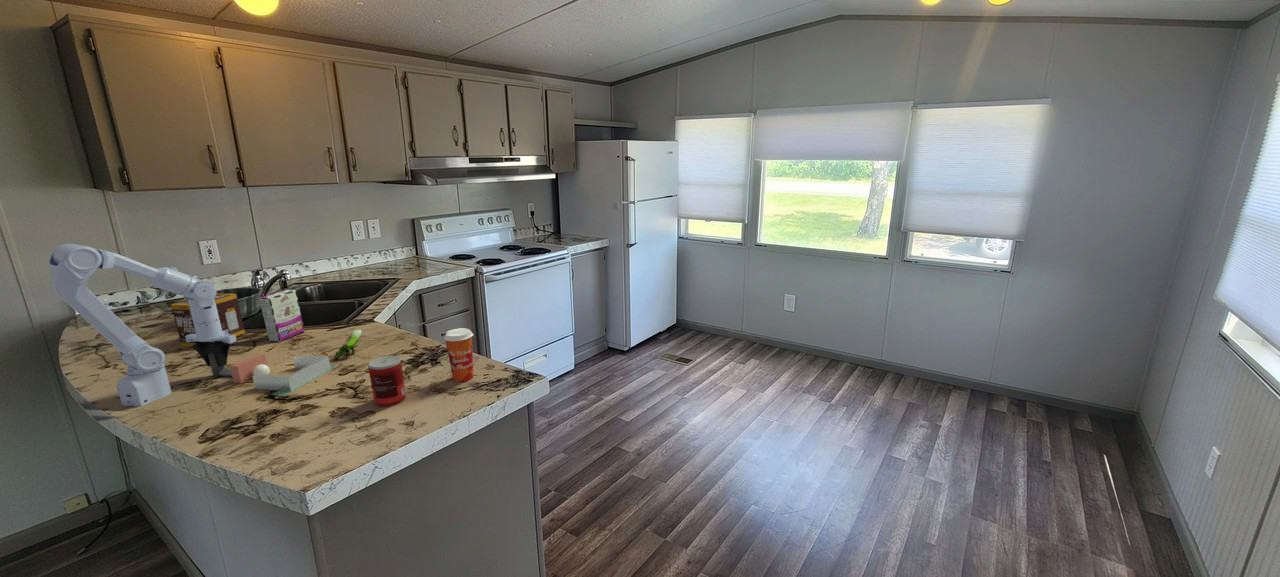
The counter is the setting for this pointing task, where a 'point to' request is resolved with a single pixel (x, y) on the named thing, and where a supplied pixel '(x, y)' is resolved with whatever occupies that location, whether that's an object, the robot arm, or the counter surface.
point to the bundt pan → (244, 299)
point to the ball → (261, 370)
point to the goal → (294, 374)
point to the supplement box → (226, 313)
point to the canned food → (387, 380)
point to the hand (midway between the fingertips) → (217, 365)
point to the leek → (349, 343)
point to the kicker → (237, 368)
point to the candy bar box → (282, 315)
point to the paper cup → (460, 353)
